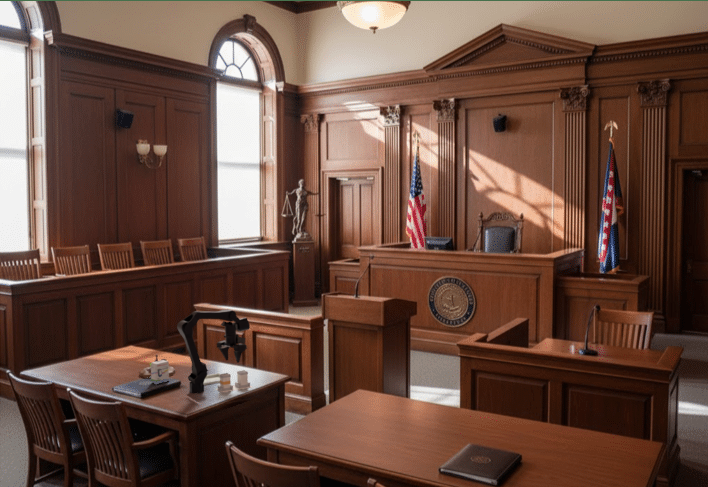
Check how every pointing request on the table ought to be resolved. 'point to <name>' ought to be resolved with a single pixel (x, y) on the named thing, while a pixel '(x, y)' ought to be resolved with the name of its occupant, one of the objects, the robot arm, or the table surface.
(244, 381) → the plain fuse
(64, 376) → the table surface
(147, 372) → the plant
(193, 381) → the robot arm
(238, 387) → the block
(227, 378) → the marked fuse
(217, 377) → the tray
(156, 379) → the ink box
